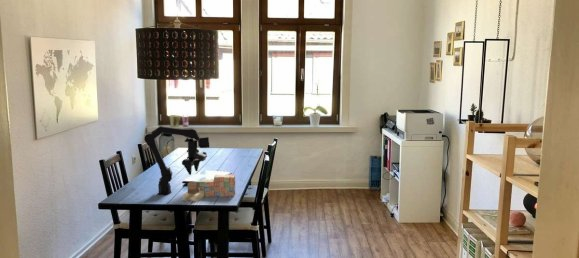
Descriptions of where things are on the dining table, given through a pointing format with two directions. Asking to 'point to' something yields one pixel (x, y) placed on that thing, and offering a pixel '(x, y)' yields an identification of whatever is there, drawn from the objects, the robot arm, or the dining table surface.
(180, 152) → the dining table surface
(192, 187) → the walnut cube
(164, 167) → the robot arm
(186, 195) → the birch block
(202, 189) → the stack of blocks
